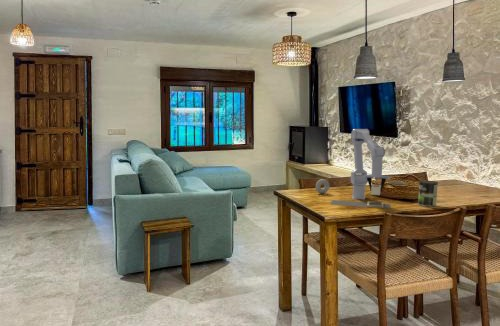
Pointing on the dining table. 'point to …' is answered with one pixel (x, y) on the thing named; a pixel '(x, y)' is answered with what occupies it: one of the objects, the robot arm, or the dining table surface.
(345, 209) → the dining table surface
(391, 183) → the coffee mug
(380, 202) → the frame
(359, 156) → the robot arm
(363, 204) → the mat
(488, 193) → the dining table surface
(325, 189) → the donut
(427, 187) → the coffee can
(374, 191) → the card box
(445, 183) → the dining table surface
